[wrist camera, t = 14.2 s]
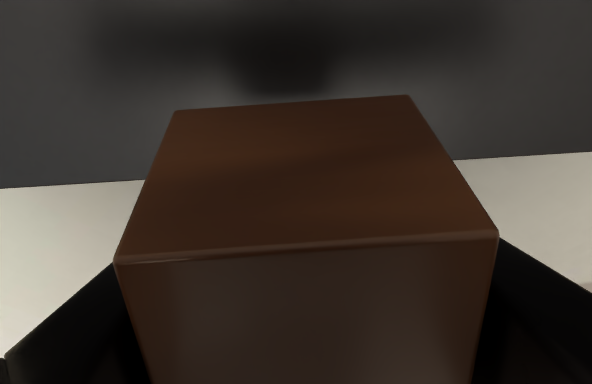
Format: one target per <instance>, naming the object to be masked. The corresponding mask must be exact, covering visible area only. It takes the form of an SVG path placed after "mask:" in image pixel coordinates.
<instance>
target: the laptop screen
mask: <svg viewBox="0 0 592 384" xmlns="http://www.w3.org/2000/svg"><path fill="white" fill-rule="evenodd" d="M405 94H406V95H409V96H410V97H411V98H412V100H413V101H414V103H415V104H416V106H417V107H418V109H419V110H420V112H421V113H422V115H423V116H424V118H425V120H426V121H427V123H428V124H429V126H430V127H431V129H432V130H433V132H434V133H435V135H436V136H437V138H438V139H439V141H440V142H441V144H442V145H443V147H444V148H445V150H446V151H447V153H448V154H449V156H450V158H451V159H452V160H466V159H482V158H498V157H514V156H530V155H546V154H562V153H578V152H592V0H0V189H5V188H21V187H37V186H52V185H68V184H84V183H100V182H116V181H132V180H146V178H147V175H148V173H149V170H150V168H151V165H152V163H153V161H154V158H155V156H156V153H157V151H158V149H159V146H160V144H161V141H162V139H163V137H164V134H165V132H166V129H167V127H168V124H169V122H170V120H171V117H172V115H173V112H174V111H176V110H185V109H200V108H215V107H229V106H244V105H258V104H273V103H288V102H302V101H317V100H332V99H346V98H361V97H375V96H390V95H405Z"/></svg>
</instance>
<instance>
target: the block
mask: <svg viewBox="0 0 592 384" xmlns="http://www.w3.org/2000/svg"><path fill="white" fill-rule="evenodd" d="M499 236H500V234H499V231H498V229H497V227H496V226H495V224H494V223H493V221H492V220H491V218H490V217H489V215H488V214H487V212H486V211H485V209H484V208H483V206H482V205H481V203H480V202H479V200H478V199H477V197H476V196H475V194H474V192H473V191H472V189H471V188H470V186H469V185H468V183H467V182H466V180H465V179H464V177H463V176H462V174H461V173H460V171H459V170H458V168H457V167H456V165H455V164H454V162H453V161H452V159H451V158H450V156H449V154H448V153H447V151H446V150H445V148H444V147H443V145H442V144H441V142H440V141H439V139H438V138H437V136H436V135H435V133H434V132H433V130H432V129H431V127H430V126H429V124H428V123H427V121H426V120H425V118H424V116H423V115H422V113H421V112H420V110H419V109H418V107H417V106H416V104H415V103H414V101H413V100H412V98H411V97H410V96H409V95H406V94H405V95H390V96H375V97H361V98H346V99H332V100H317V101H302V102H288V103H273V104H258V105H244V106H229V107H215V108H200V109H185V110H176V111H174V112H173V115H172V117H171V120H170V122H169V124H168V127H167V129H166V132H165V134H164V137H163V139H162V141H161V144H160V146H159V149H158V151H157V153H156V156H155V158H154V161H153V163H152V165H151V168H150V170H149V173H148V175H147V178H146V180H145V182H144V185H143V187H142V190H141V192H140V194H139V197H138V199H137V202H136V204H135V206H134V209H133V211H132V214H131V216H130V219H129V221H128V223H127V226H126V228H125V231H124V233H123V235H122V238H121V240H120V243H119V245H118V247H117V250H116V252H115V255H114V257H113V266H114V269H115V272H116V276H117V279H118V282H119V285H120V288H121V291H122V295H123V298H124V301H125V304H126V307H127V310H128V314H129V317H130V320H131V323H132V326H133V329H134V333H135V336H136V339H137V342H138V345H139V348H140V352H141V355H142V358H143V361H144V364H145V367H146V370H147V374H148V377H149V380H150V383H151V384H471V380H472V375H473V370H474V365H475V360H476V355H477V350H478V345H479V340H480V335H481V329H482V324H483V319H484V314H485V309H486V304H487V299H488V294H489V289H490V284H491V278H492V273H493V268H494V263H495V258H496V253H497V248H498V243H499Z"/></svg>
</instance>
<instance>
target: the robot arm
mask: <svg viewBox="0 0 592 384" xmlns="http://www.w3.org/2000/svg"><path fill="white" fill-rule="evenodd" d="M4 358H5V359H4ZM4 358H0V384H151V383H150V380H149V377H148V374H147V370H146V367H145V364H144V361H143V358H142V355H141V352H140V348H139V345H138V342H137V339H136V336H135V333H134V329H133V326H132V323H131V320H130V317H129V314H128V310H127V307H126V304H125V301H124V298H123V295H122V291H121V288H120V285H119V282H118V279H117V276H116V272H115V269H114V266H113V262H112V263H111V264H110V265H108V266H107V267H106V268H105V269H104V270H103V271H101V272H100V273H99V274H98V275H97V276H95V277H94V278H93V279H92V280H91V281H90V282H88V283H87V284H86V285H85V286H84V287H83V288H81V289H80V290H79V291H78V292H77V293H76V294H74V295H73V296H72V297H71V298H70V299H69V300H67V301H66V302H65V303H64V304H63V305H62V306H60V307H59V308H58V309H57V310H56V311H54V312H53V313H52V314H51V315H50V316H49V317H47V318H46V319H45V320H44V321H43V322H42V323H40V324H39V325H38V326H37V327H36V328H35V329H33V330H32V331H31V332H30V333H29V334H28V335H26V336H25V337H24V338H23V339H22V340H21V341H19V342H18V343H17V344H16V345H15V346H13V347H12V348H11V349H10V350H9V351H8V352H6V353H5V355H4ZM471 384H592V293H591V292H589V291H588V290H586V289H584V288H583V287H581V286H579V285H578V284H576V283H574V282H573V281H571V280H569V279H568V278H566V277H564V276H563V275H561V274H559V273H558V272H556V271H554V270H553V269H551V268H549V267H548V266H546V265H545V264H543V263H541V262H540V261H538V260H536V259H535V258H533V257H531V256H530V255H528V254H526V253H525V252H523V251H521V250H520V249H518V248H516V247H515V246H513V245H511V244H510V243H508V242H506V241H505V240H503V239H501V238H500V237H499V243H498V248H497V253H496V258H495V263H494V268H493V273H492V278H491V284H490V289H489V294H488V299H487V304H486V309H485V314H484V319H483V324H482V329H481V335H480V340H479V345H478V350H477V355H476V360H475V365H474V370H473V375H472V380H471Z"/></svg>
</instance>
